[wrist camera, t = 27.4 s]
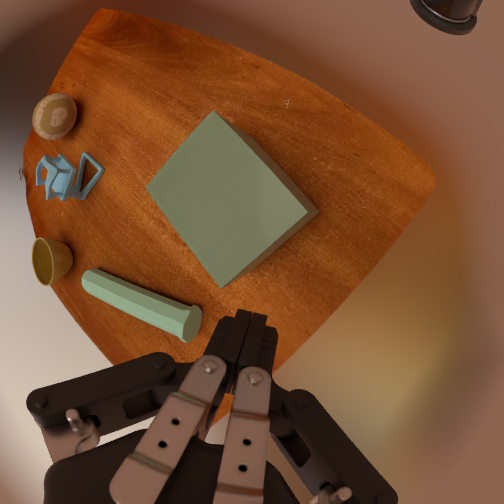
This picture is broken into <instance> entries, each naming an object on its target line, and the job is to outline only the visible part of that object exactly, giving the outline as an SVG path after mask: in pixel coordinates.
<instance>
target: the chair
mask: <svg viewBox="0 0 504 504" xmlns="http://www.w3.org/2000/svg"><path fill="white" fill-rule="evenodd" d="M86 158H87V159H88V160H89V161H90V162H91V163H92V164H93V165H94V166H95V167H96V168H97V169H98V172H97V173H96V174H95V176H94V177H93V178H92V179H91V181H90V182H89V183H88V185H87V186H86V187H85V188H84V190H83V191H82V193H81V192H80V188H81V183H82V177H83V172H84V166H85V161H86ZM52 162H55V163H56V165H54V164H53V163H52ZM43 166H45V167H46V169H47V170H48V175H47V178H46V180H44V181H41V169H42V167H43ZM104 170H105V169H104V168H103V167H102V166H101V165H100V164H99V163H98V162H97V161H96V160H95V159H94V158H92V157H91V156H90V155H89V154H88V153H86V152H83V154H82V157H81V161H80V165H79V170H78V175H77V181H76V185H75V186H74V185H73V184H72V183H73V178H74V176H75V173H76V171H77V169H76V168H75V167H74V166H73V165H72V164H71V163H70V162H69V161H68V160H67V159H66V158H65V156H64V155H63V154H59V156H58V158H52V157H50V156H48V155H44V156H43V158H42V159H41V161H40V162H39V164H38V165H37V168H36V186H38V185H41V184H45V189H46V200H48V199H50V198H53V197H55V196H57V197H59V198H60V199H61V201H66V199H67V198H68V197H73V198H77V199H81V200H84V199H85V198H86V196H87V195H88V193H89V192H90V190H91V189H92V187H93V186H94V185H95V183H96V182H97V181H98V179H99V178H100V177H101V175H102V174H103V172H104ZM51 189H53V190H54V191H55V193H53V194H51Z"/></svg>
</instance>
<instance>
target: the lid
mask: <svg viewBox="0 0 504 504" xmlns="http://www.w3.org/2000/svg"><path fill="white" fill-rule="evenodd" d="M146 190H147V191H148V193H149V194H150V195H151V197H152V198H153V200H154V201H155V202H156V204H157V205H158V206H159V208H160V209H161V211H162V212H163V213H164V215H165V216H166V217H167V219H168V220H169V221H170V223H171V224H172V226H173V227H174V228H175V230H176V231H177V232H178V234H179V235H180V236H181V238H182V239H183V240H184V242H185V243H186V244H187V246H188V247H189V248H190V250H191V251H192V252H193V253H194V255H195V256H196V257H197V259H198V260H199V261H200V263H201V264H202V265H203V266H204V268H205V269H206V270H207V272H208V273H209V274H210V275H211V277H212V278H213V279H214V281H215V282H216V283H217V284H218V286H219V287H220V288H221V289H222V288H223V287H225V286H226V285H227V284H228V283H230V282H231V281H232V280H233V279H234V278H235V277H236V276H238V275H239V274H240V273H241V272H242V271H243V270H244V269H246V268H247V267H248V266H249V265H250V264H251V263H253V262H254V261H255V260H256V259H257V258H258V257H259V256H261V255H262V254H263V253H264V252H265V251H266V250H267V249H269V248H270V247H271V246H272V245H273V244H274V243H275V242H277V241H278V240H279V239H280V238H281V237H282V236H283V235H285V234H286V233H287V232H288V231H289V230H290V229H291V228H293V227H294V226H295V225H296V224H297V223H298V222H299V221H300V220H302V219H303V218H304V217H305V216H306V215H307V214H308V213H309V211H308V210H307V208H306V207H305V206H304V205H303V204H302V203H301V201H300V200H299V199H298V198H297V197H296V196H295V195H294V194H293V192H292V191H291V190H290V189H289V188H288V187H287V186H286V185H285V183H284V182H283V181H282V180H281V179H280V178H279V177H278V176H277V175H276V173H275V172H274V171H273V170H272V169H271V168H270V167H269V166H268V165H267V164H266V163H265V161H264V160H263V159H262V158H261V157H260V156H259V155H258V154H257V153H256V152H255V151H254V150H253V149H252V148H251V147H250V146H249V144H248V143H247V142H246V141H245V140H244V139H243V138H242V137H241V136H240V135H239V134H238V133H237V132H236V131H235V130H234V129H233V128H232V127H231V126H230V125H229V124H228V123H227V122H226V121H225V120H224V119H223V118H222V117H221V116H220V115H219V114H218V113H217V112H216V111H214V110H213V111H212V112H211V113H210V114H209V115H208V116H207V117H206V118H205V119H204V120H203V121H202V122H201V123H200V124H199V125H198V126H197V128H196V129H195V130H194V131H193V132H192V133H191V134H190V135H189V136H188V137H187V139H186V140H185V141H184V142H183V143H182V144H181V145H180V147H179V148H178V149H177V150H176V151H175V152H174V153H173V155H172V156H171V157H170V158H169V159H168V161H167V162H166V163H165V164H164V165H163V167H162V168H161V169H160V170H159V171H158V173H157V174H156V175H155V176H154V178H153V179H152V180H151V181H150V183H149V184H148V185H147V186H146Z"/></svg>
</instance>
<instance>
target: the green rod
mask: <svg viewBox="0 0 504 504" xmlns="http://www.w3.org/2000/svg"><path fill="white" fill-rule="evenodd" d="M82 286H83V288H84V289H85V290H86V291H87V292H88V293H89V294H91V295H93V296H95V297H97V298H99V299H101V300H103V301H105V302H106V303H108V304H110V305H112V306H114V307H116V308H118V309H120V310H122V311H124V312H126V313H128V314H130V315H132V316H134V317H137V318H139V319H141V320H143V321H145V322H147V323H149V324H151V325H154V326H156V327H158V328H160V329H162V330H165V331H167V332H169V333H172V334H174V335H176V336H178V337H179V338H180V339H181V340H182V341H183V342H185V343H188V342H190V341H191V340H193V339H194V338H195V337H196V335H197V333H198V331H199V329H200V327H201V322H202V311H201V310H200V308H199V307H198V306H196V305H193V306H191V307H190V306H187V305H184V304H181V303H179V302H176V301H174V300H171V299H168V298H166V297H163V296H161V295H158V294H156V293H153V292H151V291H148V290H146V289H143V288H141V287H138V286H136V285H133V284H131V283H129V282H126V281H124V280H122V279H119V278H117V277H115V276H112V275H110V274H108V273H105V272H103V271H101V270H99V269H96V268H95V269H91V270H87V271H86V272H85V273H84V275H83V276H82Z"/></svg>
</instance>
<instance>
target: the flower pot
mask: <svg viewBox="0 0 504 504" xmlns="http://www.w3.org/2000/svg"><path fill="white" fill-rule="evenodd" d="M32 263H33V268H34V272H35V275H36V277H37V279H38V280H39V282H40V283H41V284H42V285H44V286H48V285H51V284H53V283H54V282H56V281H58V280H59V279H60V278H62V277H63V276H64V275H65V274H66V273H67V272H68V271H69V269H70V268H71V266H72V263H73V256H72V252H71V250H70V248H69V247H68V246H66V245H65V244H63V243H61V242H59V241H56V240H53V239H49V238H37V239H36V240H35V242H34V245H33V249H32Z"/></svg>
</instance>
